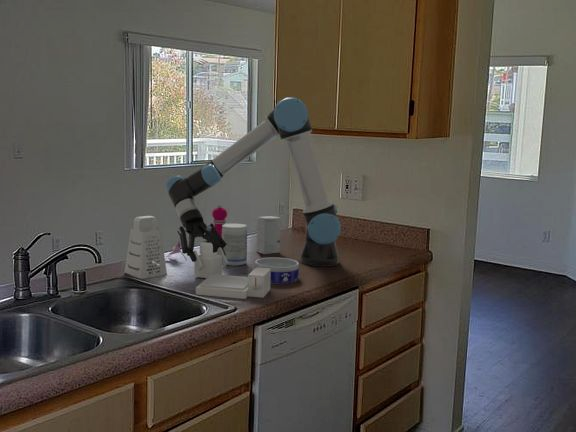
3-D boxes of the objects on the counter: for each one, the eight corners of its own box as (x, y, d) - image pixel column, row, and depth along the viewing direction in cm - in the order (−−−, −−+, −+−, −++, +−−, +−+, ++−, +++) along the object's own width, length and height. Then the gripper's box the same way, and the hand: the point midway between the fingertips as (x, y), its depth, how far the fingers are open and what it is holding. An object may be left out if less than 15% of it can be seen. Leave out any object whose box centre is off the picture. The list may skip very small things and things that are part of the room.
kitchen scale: (272, 287, 214) (272, 266, 213) (261, 300, 199) (261, 278, 198) (211, 282, 218) (211, 261, 217) (195, 294, 203) (196, 272, 202)
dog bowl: (285, 272, 237) (286, 255, 236) (306, 282, 223) (306, 265, 222) (247, 275, 230) (248, 258, 229) (266, 286, 216) (266, 268, 215)
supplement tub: (251, 264, 245) (252, 226, 243) (228, 267, 240) (229, 228, 237) (238, 259, 253) (239, 222, 251) (216, 261, 248) (217, 224, 245)
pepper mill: (229, 251, 268) (230, 203, 265) (225, 254, 261) (226, 205, 258) (212, 249, 269) (213, 202, 266) (207, 253, 262) (208, 204, 259)
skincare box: (263, 254, 263) (264, 218, 261) (255, 251, 268) (256, 216, 266) (280, 252, 268) (281, 217, 266) (272, 249, 273) (273, 215, 271)
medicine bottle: (204, 272, 229) (204, 239, 227) (222, 274, 226) (222, 241, 225) (194, 276, 223) (194, 242, 221) (212, 279, 220) (212, 244, 218)
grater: (167, 274, 227) (167, 217, 223) (141, 278, 219) (141, 220, 216) (150, 268, 234) (150, 213, 231) (124, 272, 226) (124, 216, 223)
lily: (180, 257, 257) (168, 237, 255) (202, 250, 251) (190, 229, 249) (164, 273, 247) (151, 251, 245) (187, 265, 241) (174, 243, 239)
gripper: (211, 218, 240) (235, 268, 231) (158, 223, 227) (181, 277, 217) (219, 206, 236) (244, 256, 226) (165, 210, 222) (189, 264, 212)
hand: (213, 266), depth 222 cm, fingers closed on medicine bottle, 9 cm apart
